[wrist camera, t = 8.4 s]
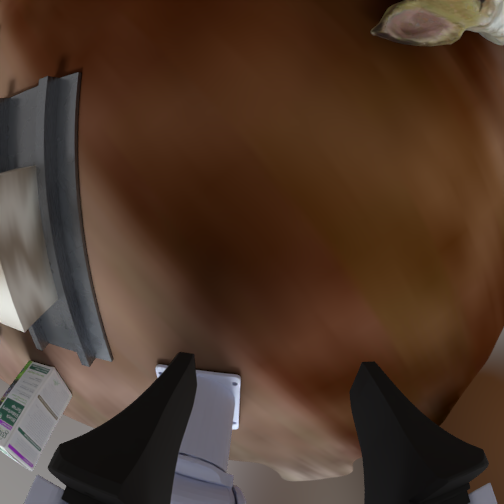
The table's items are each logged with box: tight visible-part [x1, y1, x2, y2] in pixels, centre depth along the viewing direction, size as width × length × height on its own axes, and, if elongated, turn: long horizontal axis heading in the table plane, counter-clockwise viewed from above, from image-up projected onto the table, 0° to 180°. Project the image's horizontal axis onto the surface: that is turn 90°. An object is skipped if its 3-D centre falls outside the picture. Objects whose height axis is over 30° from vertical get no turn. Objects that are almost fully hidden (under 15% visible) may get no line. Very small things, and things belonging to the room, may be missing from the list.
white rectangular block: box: [0, 165, 58, 332], centre depth 16 cm, size 12×4×6 cm, turn 177°
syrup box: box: [0, 361, 72, 471], centre depth 21 cm, size 6×6×14 cm
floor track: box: [0, 72, 113, 367], centre depth 19 cm, size 26×12×2 cm, turn 177°
